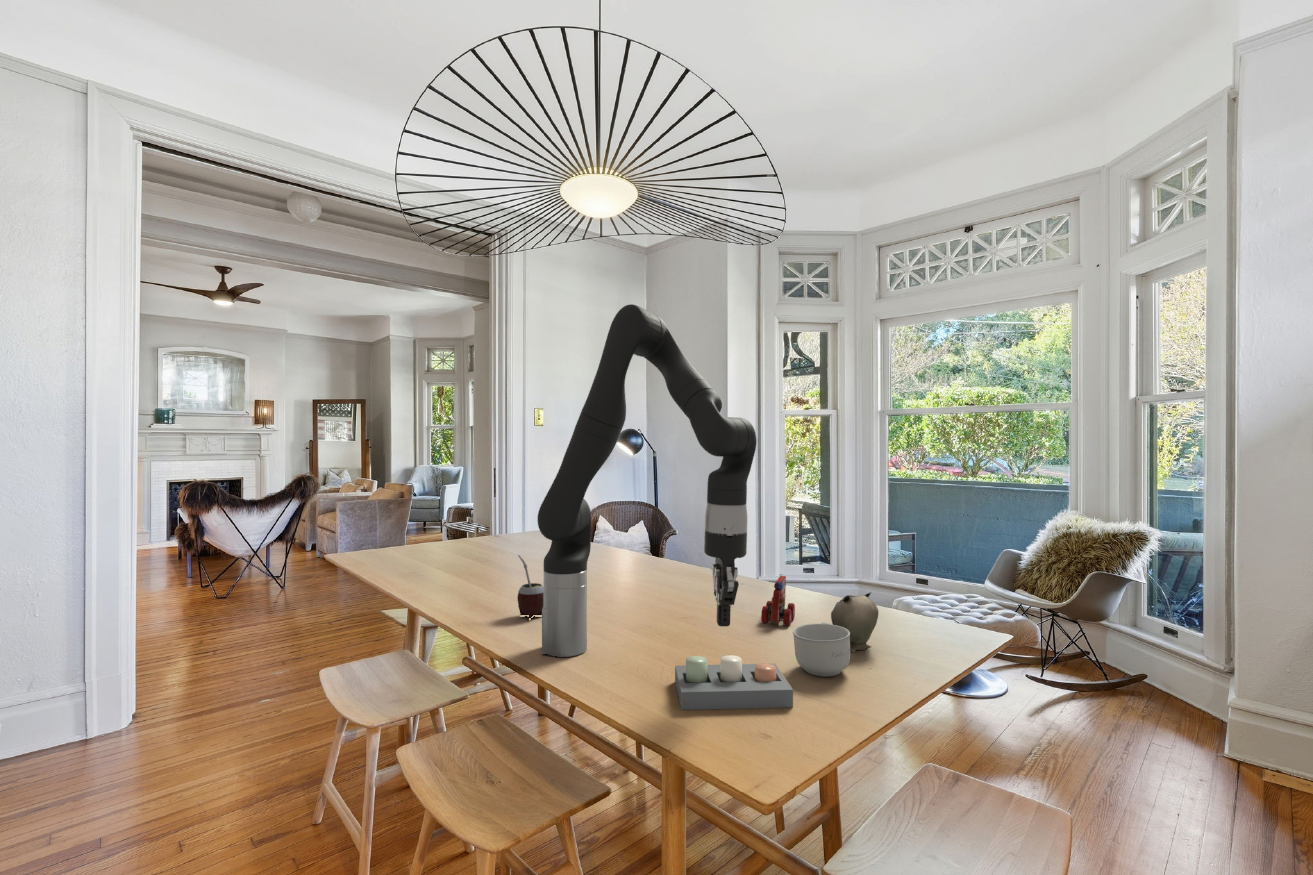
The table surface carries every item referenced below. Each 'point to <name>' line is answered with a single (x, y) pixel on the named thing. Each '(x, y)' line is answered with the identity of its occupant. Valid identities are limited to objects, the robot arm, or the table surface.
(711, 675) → the console
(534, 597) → the mate gourd
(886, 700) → the table surface
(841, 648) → the teacup
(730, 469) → the robot arm
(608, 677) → the table surface
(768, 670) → the terracotta button
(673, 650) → the table surface
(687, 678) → the sage button
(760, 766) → the table surface
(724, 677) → the cream button
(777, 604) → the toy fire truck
